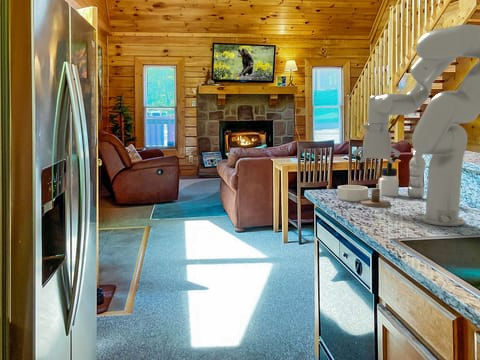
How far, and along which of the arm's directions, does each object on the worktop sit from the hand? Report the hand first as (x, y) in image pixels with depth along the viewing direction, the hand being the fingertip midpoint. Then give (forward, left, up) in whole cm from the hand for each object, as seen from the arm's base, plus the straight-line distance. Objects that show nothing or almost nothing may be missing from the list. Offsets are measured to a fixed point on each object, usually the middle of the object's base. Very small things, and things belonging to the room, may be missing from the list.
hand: (375, 173), depth 155 cm
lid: (-1, 0, -12) cm, 12 cm away
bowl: (+10, +8, -13) cm, 18 cm away
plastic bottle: (+16, -18, -13) cm, 28 cm away
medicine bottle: (+22, -8, -13) cm, 27 cm away
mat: (-1, 0, -13) cm, 13 cm away
